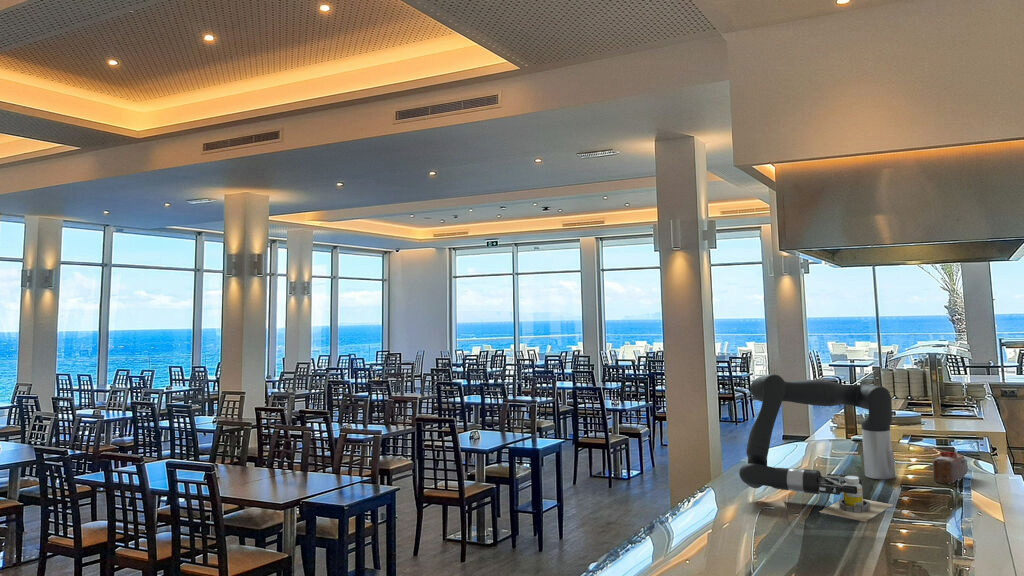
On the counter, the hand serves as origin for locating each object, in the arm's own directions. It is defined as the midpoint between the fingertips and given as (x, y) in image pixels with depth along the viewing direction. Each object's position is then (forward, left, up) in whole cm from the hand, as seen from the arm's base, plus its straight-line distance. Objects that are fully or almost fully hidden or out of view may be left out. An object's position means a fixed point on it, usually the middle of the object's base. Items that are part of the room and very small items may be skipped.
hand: (859, 486), depth 208 cm
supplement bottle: (+2, -1, -7) cm, 7 cm away
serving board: (+1, -1, -8) cm, 8 cm away
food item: (-37, -39, -8) cm, 54 cm away
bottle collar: (+2, -1, -7) cm, 7 cm away
